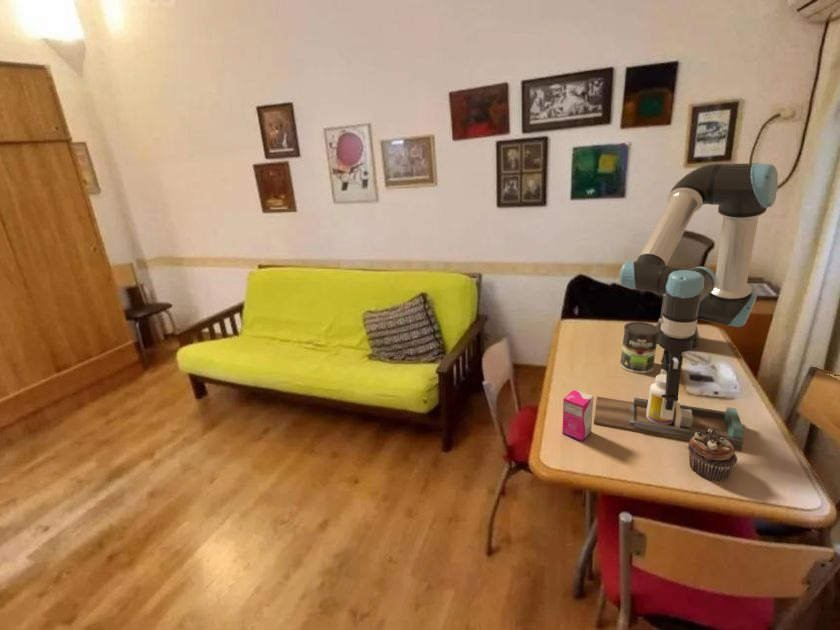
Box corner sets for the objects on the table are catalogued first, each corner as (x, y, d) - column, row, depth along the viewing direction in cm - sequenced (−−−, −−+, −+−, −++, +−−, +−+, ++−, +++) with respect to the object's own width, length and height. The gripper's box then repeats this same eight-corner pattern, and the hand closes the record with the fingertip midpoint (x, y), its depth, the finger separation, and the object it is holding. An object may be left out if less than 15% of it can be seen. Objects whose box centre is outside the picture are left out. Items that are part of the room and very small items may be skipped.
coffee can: (654, 375, 142) (660, 336, 136) (620, 371, 146) (624, 333, 140) (652, 360, 150) (657, 323, 145) (619, 357, 154) (623, 320, 149)
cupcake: (715, 489, 97) (723, 453, 93) (675, 463, 105) (682, 429, 102) (743, 475, 100) (752, 439, 97) (702, 450, 109) (710, 416, 105)
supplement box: (571, 423, 122) (573, 388, 118) (591, 432, 118) (595, 396, 114) (560, 433, 118) (563, 397, 114) (581, 442, 114) (584, 406, 110)
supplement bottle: (676, 427, 116) (684, 385, 111) (649, 425, 118) (655, 384, 113) (668, 412, 122) (675, 372, 117) (642, 411, 124) (648, 371, 119)
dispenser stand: (596, 398, 132) (598, 385, 130) (731, 420, 118) (734, 405, 117) (593, 423, 121) (595, 409, 119) (741, 450, 108) (745, 434, 106)
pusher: (671, 411, 122) (674, 396, 120) (688, 413, 121) (691, 399, 119) (674, 430, 114) (677, 415, 113) (692, 433, 113) (695, 418, 111)
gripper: (657, 312, 121) (647, 378, 129) (662, 352, 101) (650, 428, 109) (688, 315, 118) (676, 382, 126) (700, 357, 98) (685, 434, 106)
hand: (664, 403), depth 118 cm, fingers open, 13 cm apart
